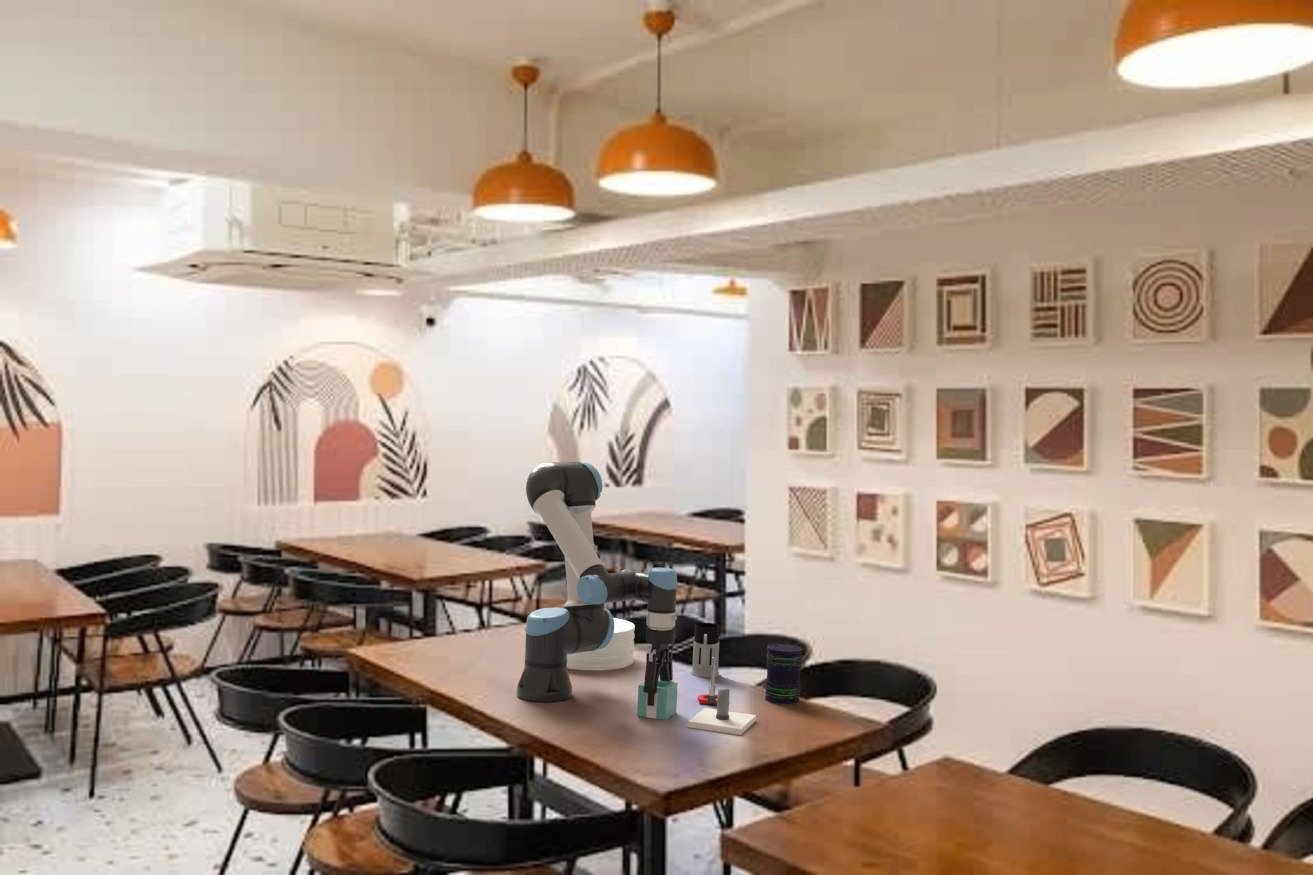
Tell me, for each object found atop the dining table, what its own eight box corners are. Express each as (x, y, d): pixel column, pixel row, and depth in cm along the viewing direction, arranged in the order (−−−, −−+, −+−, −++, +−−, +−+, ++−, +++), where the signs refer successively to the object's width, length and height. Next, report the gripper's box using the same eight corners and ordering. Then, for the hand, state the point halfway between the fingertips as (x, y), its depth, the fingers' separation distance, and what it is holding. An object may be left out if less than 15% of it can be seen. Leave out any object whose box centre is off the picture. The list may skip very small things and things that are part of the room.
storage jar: (806, 700, 304) (809, 648, 304) (786, 706, 297) (788, 652, 296) (778, 693, 311) (780, 641, 310) (757, 698, 304) (759, 646, 303)
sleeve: (637, 715, 282) (638, 685, 282) (648, 708, 289) (649, 678, 289) (665, 719, 279) (667, 689, 279) (676, 712, 286) (677, 682, 286)
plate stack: (650, 659, 347) (651, 624, 347) (599, 675, 323) (601, 637, 323) (580, 646, 362) (581, 612, 362) (526, 660, 338) (528, 624, 338)
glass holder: (719, 671, 334) (722, 623, 334) (717, 682, 320) (720, 632, 320) (691, 669, 335) (693, 621, 335) (688, 680, 321) (690, 630, 321)
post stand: (687, 726, 274) (689, 691, 273) (704, 713, 287) (706, 679, 286) (740, 735, 269) (742, 699, 268) (755, 720, 282) (757, 686, 282)
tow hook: (699, 697, 305) (695, 704, 296) (702, 651, 305) (698, 656, 296) (729, 699, 304) (726, 706, 294) (731, 653, 304) (729, 659, 295)
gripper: (660, 635, 272) (656, 725, 273) (687, 622, 292) (683, 705, 292) (632, 632, 275) (629, 721, 276) (661, 619, 295) (658, 702, 295)
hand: (657, 713), depth 284 cm, fingers closed on sleeve, 8 cm apart
